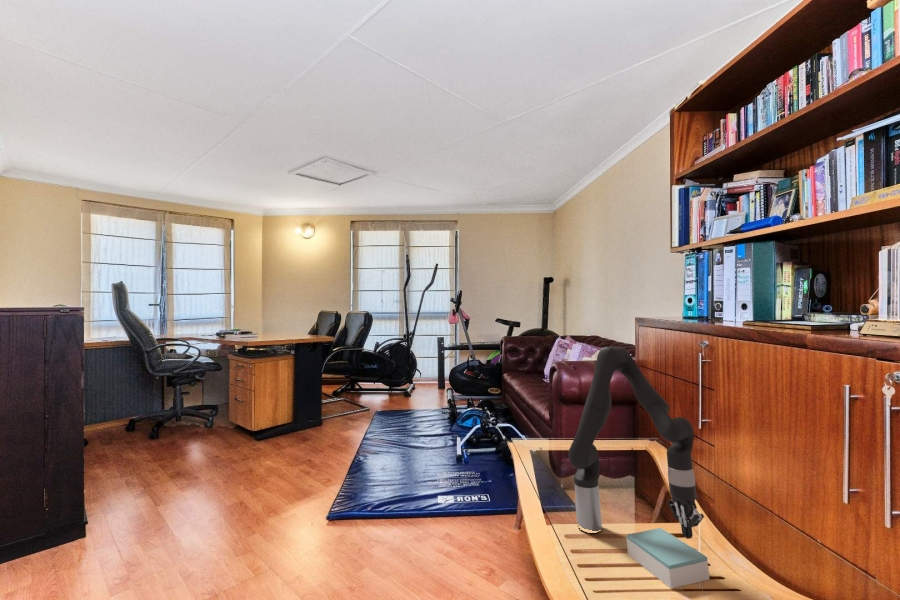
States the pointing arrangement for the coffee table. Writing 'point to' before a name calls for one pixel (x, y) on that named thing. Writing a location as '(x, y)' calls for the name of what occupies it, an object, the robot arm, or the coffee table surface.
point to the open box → (669, 576)
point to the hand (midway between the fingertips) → (687, 537)
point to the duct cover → (666, 548)
